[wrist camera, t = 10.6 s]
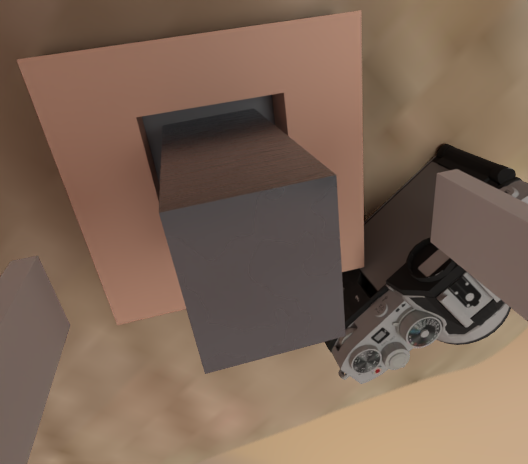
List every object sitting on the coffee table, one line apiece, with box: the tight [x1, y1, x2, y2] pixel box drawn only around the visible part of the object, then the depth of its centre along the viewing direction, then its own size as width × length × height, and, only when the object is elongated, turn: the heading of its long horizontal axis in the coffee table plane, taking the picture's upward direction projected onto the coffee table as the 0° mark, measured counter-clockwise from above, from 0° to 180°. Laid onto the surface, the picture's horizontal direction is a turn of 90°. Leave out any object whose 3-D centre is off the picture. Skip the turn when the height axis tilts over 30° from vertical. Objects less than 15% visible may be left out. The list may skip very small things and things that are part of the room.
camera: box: [325, 144, 528, 384], centre depth 25 cm, size 16×9×10 cm, turn 135°
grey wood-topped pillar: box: [159, 109, 346, 374], centre depth 18 cm, size 6×5×12 cm
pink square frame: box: [17, 10, 364, 325], centre depth 22 cm, size 14×15×4 cm
